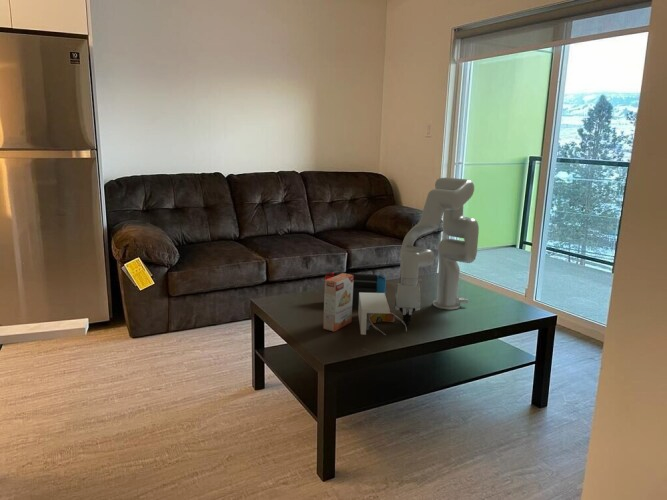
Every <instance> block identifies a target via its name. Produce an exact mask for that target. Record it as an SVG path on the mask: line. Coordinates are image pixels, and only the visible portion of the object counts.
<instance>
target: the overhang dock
mask: <svg viewBox="0 0 667 500" xmlns="http://www.w3.org/2000/svg"><path fill="white" fill-rule="evenodd" d="M390 311H391V309H390V306H389V303H388V299H387V297H386V292H385V293H359V307H358V314H357V315H358V316H357V317H358V321H359V322H358V323H359V330H360V335H363V336H364V335H367V331H370V326H369V320H368V319H369V316H368V315H369V314H372V313H388V314H390Z"/></svg>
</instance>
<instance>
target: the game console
mask: <svg viewBox="0 0 667 500" xmlns="http://www.w3.org/2000/svg"><path fill="white" fill-rule="evenodd" d="M342 273H343V272H333V271H329V272H327V273H326V274H325V276H324V277H325V279H324V281H325V280H327V279H329V278H332V277H334V276H337V275H339V274H342ZM344 273H345V274H350V275H354V279H353V300H352V307H358V308H359V293H385V294H386V287H387V286H386V283H387V282H386V281H387V277H386V276H384V275H383V274H373V273H352V272H350V273H349V272H344Z"/></svg>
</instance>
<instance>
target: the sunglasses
mask: <svg viewBox="0 0 667 500" xmlns="http://www.w3.org/2000/svg"><path fill="white" fill-rule="evenodd" d="M395 319H397V320H399V321H400V322H401V323H402V324H403V325H404V327H405V332H406V333H407V332H408V329H407V324H405V323H404V321H403V319H402V318H400V317H399V316H397V315H396V314H395V313H394V312H390V314H388V313H370V315H369V316H368V320H369V327H370V326H372V327H373V328H374V329H375V330H377V332H380V334H382V335H384V336H386V334H385V332H383V331H382V330H380V329H379V328H378V327H376V326H375V325H374V324H376V323H378V320H379V321H380V322H387V323H394V322H395Z"/></svg>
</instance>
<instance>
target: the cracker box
mask: <svg viewBox="0 0 667 500" xmlns="http://www.w3.org/2000/svg"><path fill="white" fill-rule="evenodd" d="M341 273H342V274H339V275H337V276H334V277H332V278H329V279H327V280H325V279H324V292H323V293H324V297H323V300H324V301H323V325H322V326H323V328H322V329H323V330H326V331H331V332H336V331H338V330H340V329H342V328H344V327H345V326H347V325H350V324H351V323H352V320H353V319H352V317H353V306H352V300H353V279H354V275H350V274H345V273H346V272H341Z"/></svg>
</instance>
